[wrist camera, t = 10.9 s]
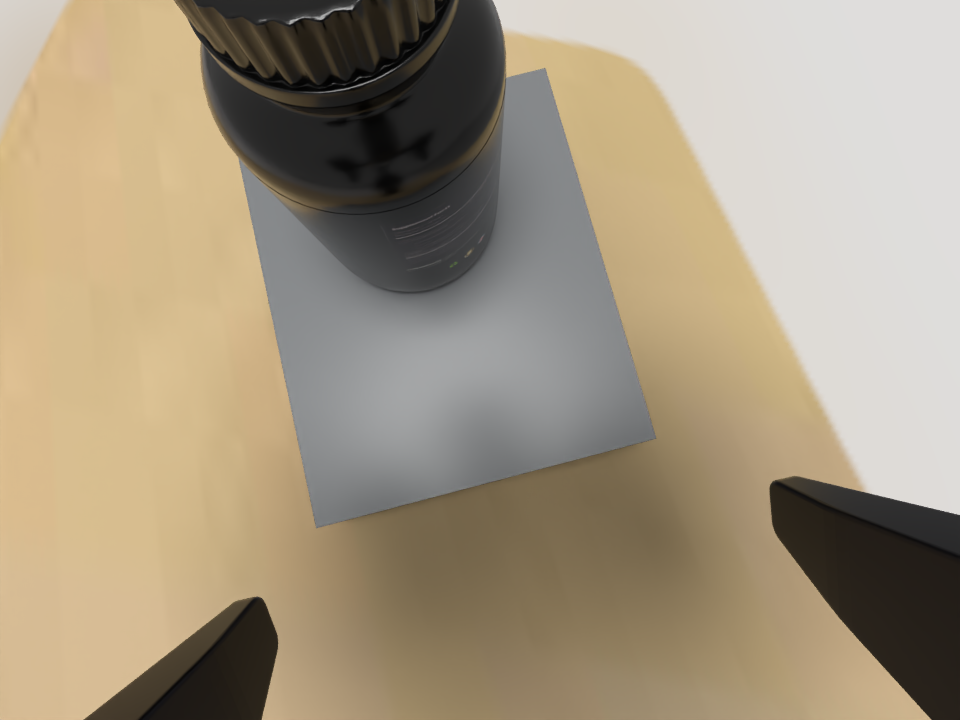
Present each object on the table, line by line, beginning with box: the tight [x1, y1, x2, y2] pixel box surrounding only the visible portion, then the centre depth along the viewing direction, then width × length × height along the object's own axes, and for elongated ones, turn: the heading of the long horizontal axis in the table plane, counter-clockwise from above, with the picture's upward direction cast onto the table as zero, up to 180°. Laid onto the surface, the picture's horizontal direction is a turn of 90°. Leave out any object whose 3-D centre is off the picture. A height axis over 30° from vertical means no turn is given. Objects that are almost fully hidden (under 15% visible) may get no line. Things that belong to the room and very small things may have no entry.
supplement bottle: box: [174, 0, 506, 292], centre depth 13 cm, size 7×7×12 cm
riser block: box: [238, 68, 656, 528], centre depth 20 cm, size 16×13×3 cm
